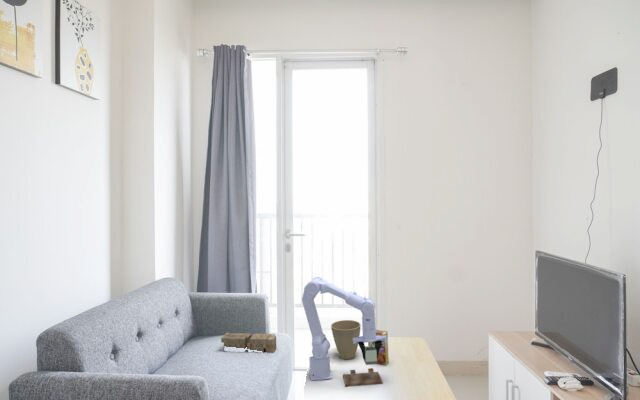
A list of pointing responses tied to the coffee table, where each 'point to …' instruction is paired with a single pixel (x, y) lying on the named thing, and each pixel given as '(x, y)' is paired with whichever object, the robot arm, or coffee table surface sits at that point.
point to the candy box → (382, 348)
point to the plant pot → (346, 337)
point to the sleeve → (370, 355)
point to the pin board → (362, 378)
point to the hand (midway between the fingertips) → (370, 358)
